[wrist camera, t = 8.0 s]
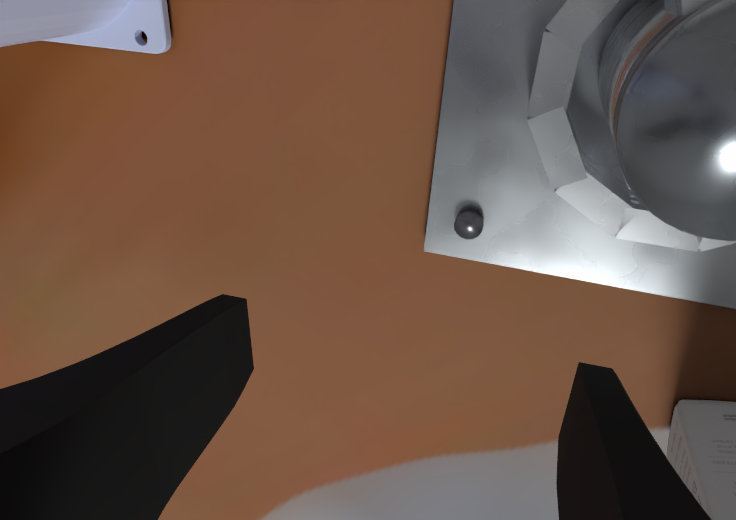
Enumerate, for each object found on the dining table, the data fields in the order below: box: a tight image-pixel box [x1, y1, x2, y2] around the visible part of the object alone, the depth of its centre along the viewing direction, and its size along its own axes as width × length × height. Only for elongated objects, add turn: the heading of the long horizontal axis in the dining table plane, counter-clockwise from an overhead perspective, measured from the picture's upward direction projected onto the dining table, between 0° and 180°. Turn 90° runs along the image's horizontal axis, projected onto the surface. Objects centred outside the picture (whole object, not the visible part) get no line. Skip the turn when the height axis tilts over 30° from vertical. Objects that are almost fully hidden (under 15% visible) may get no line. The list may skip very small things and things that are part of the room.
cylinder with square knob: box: [598, 0, 736, 241], centre depth 12 cm, size 5×7×6 cm
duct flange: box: [424, 0, 736, 309], centre depth 15 cm, size 14×14×2 cm
